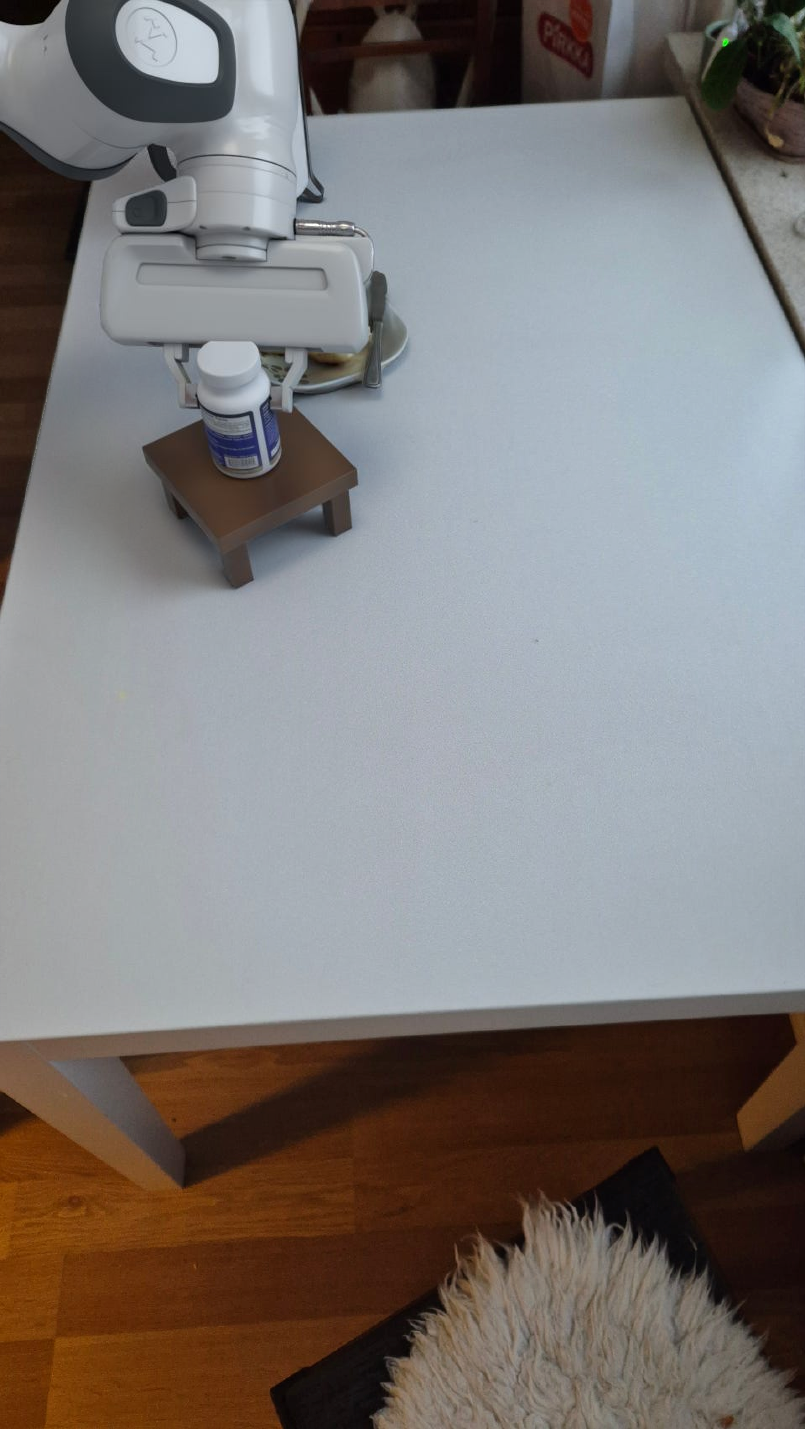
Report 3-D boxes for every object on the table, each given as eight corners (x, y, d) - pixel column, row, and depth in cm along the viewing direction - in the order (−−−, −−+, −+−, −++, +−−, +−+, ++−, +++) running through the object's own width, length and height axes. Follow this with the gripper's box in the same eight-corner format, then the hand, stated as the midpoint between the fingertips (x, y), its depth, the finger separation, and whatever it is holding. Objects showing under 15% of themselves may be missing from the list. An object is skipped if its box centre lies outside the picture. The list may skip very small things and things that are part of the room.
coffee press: (204, 161, 122) (146, -155, 96) (335, 168, 120) (310, -151, 95) (166, 244, 112) (90, -81, 87) (307, 253, 111) (271, -76, 86)
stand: (233, 597, 84) (218, 539, 78) (159, 507, 90) (141, 446, 84) (362, 529, 88) (357, 469, 82) (283, 446, 94) (274, 385, 88)
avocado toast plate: (451, 377, 99) (452, 337, 95) (281, 432, 95) (275, 392, 91) (371, 272, 108) (369, 231, 105) (214, 318, 105) (206, 278, 101)
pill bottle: (251, 423, 85) (233, 320, 77) (296, 456, 83) (282, 353, 75) (198, 457, 83) (173, 355, 75) (242, 492, 81) (222, 390, 72)
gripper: (378, 233, 78) (372, 418, 81) (119, 225, 79) (121, 409, 82) (371, 209, 72) (364, 411, 75) (89, 202, 73) (93, 401, 76)
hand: (235, 410), depth 78 cm, fingers closed on pill bottle, 6 cm apart
